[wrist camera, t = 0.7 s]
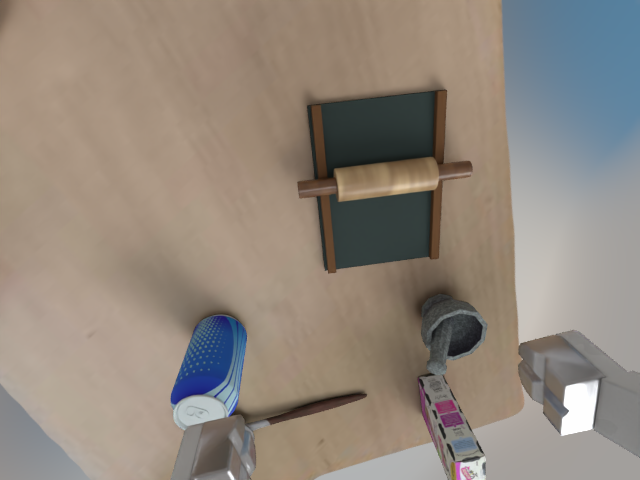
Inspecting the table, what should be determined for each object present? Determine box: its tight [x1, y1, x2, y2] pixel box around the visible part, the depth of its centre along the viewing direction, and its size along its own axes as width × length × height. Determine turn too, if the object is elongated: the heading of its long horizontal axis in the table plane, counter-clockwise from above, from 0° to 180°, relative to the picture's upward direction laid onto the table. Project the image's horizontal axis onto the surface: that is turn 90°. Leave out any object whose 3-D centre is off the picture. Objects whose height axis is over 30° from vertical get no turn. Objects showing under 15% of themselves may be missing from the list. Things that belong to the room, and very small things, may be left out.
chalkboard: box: [307, 90, 447, 273], centre depth 49 cm, size 24×18×2 cm
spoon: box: [245, 394, 367, 440], centre depth 65 cm, size 11×33×3 cm, turn 102°
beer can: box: [171, 314, 247, 430], centre depth 50 cm, size 8×8×16 cm
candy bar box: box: [418, 374, 486, 480], centre depth 61 cm, size 11×5×16 cm, turn 12°
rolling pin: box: [297, 157, 472, 202], centre depth 46 cm, size 4×23×4 cm, turn 96°
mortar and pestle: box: [421, 294, 487, 375], centre depth 54 cm, size 11×9×12 cm
